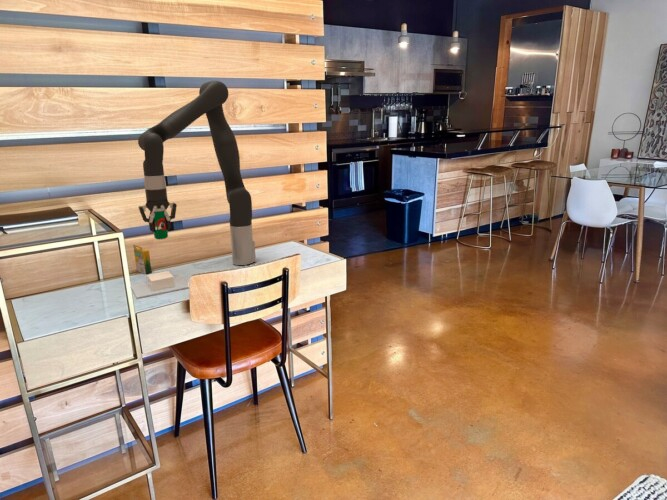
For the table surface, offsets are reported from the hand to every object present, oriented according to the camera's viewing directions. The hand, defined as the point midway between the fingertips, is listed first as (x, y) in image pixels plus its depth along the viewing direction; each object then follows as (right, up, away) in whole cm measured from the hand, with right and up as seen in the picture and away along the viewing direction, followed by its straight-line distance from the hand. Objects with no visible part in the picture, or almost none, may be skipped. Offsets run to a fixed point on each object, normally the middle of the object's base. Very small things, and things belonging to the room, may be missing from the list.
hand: (160, 230), depth 179 cm
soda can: (0, -3, +1) cm, 3 cm away
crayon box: (-12, -17, +14) cm, 25 cm away
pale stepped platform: (+2, -22, -3) cm, 22 cm away
